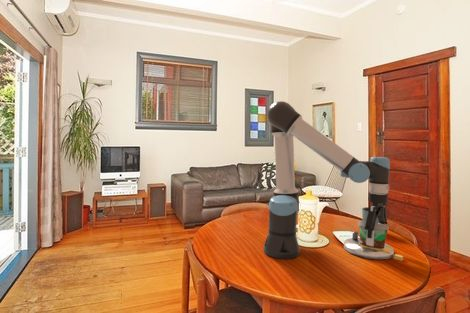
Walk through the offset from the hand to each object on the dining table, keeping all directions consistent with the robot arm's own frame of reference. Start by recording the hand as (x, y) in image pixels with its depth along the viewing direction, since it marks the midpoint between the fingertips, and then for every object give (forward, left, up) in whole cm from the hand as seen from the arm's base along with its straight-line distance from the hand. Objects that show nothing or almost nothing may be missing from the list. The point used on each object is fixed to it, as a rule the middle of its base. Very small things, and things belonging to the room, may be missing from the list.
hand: (375, 241), depth 125 cm
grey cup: (-12, +30, -5) cm, 33 cm away
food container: (0, -5, -1) cm, 5 cm away
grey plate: (-3, 0, -5) cm, 6 cm away
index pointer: (+9, 0, -5) cm, 10 cm away
